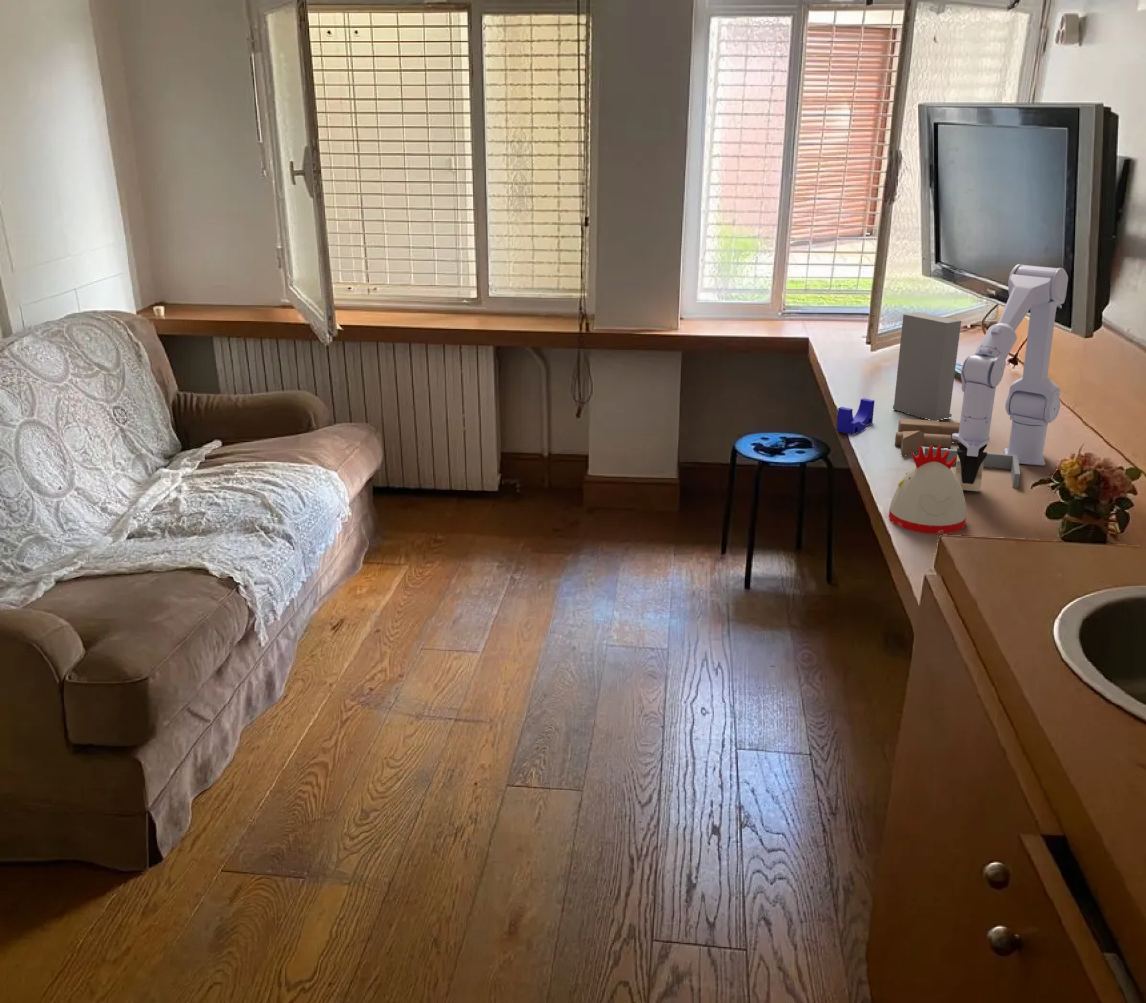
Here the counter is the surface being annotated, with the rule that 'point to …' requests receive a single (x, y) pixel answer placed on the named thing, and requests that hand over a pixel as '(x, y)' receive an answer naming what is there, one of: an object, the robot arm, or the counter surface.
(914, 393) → the tall grey upright block
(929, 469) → the kitchen timer
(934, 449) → the grey open bracket
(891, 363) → the counter surface
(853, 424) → the cable clip
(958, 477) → the birch block
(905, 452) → the wooden block set
